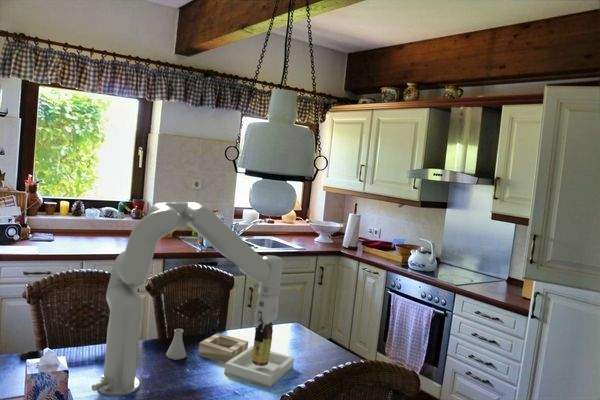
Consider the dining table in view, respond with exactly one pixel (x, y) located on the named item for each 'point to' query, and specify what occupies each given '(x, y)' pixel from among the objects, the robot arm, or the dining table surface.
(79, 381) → the dining table surface
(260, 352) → the sauce bottle
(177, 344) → the flask
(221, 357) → the shallow rimmed box
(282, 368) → the tray
